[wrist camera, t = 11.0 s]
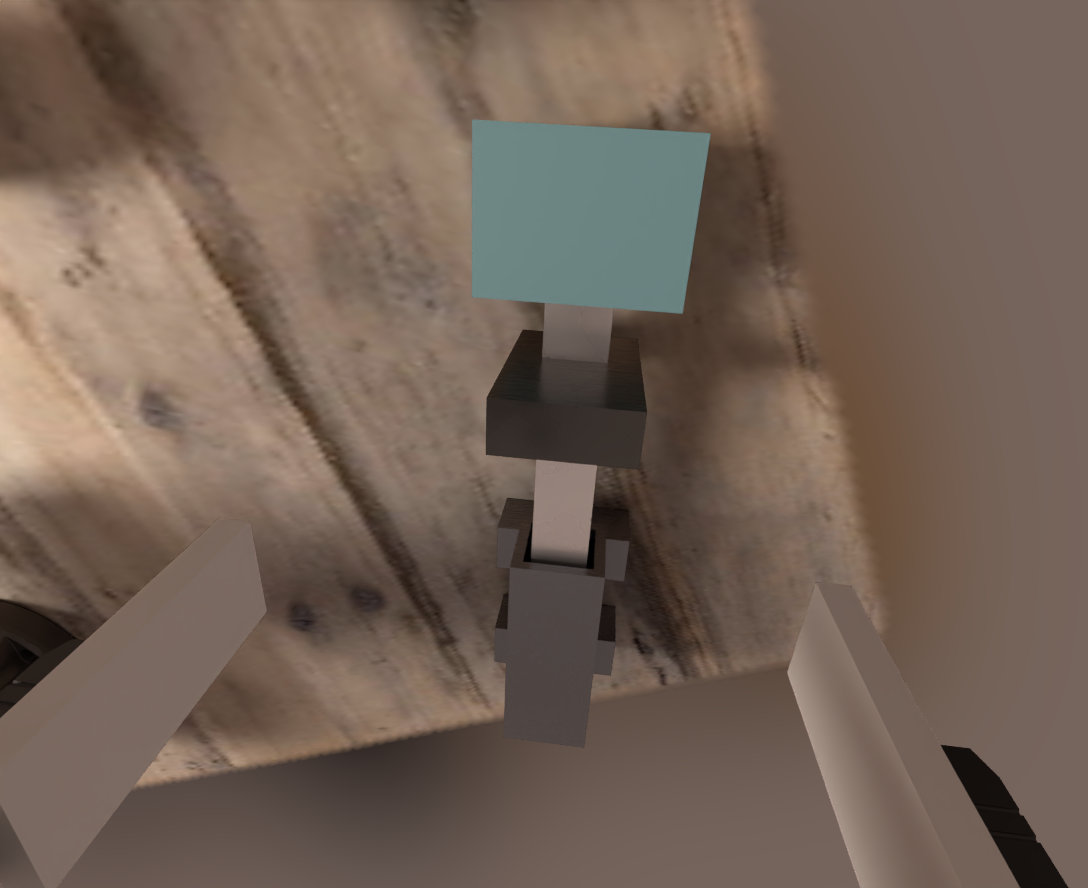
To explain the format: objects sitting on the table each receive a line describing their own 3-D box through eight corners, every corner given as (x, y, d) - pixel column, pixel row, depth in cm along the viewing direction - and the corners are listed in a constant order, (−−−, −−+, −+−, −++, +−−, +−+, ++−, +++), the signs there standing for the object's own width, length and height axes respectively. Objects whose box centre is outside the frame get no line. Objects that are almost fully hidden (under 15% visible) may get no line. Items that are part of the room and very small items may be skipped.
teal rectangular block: (661, 265, 32) (682, 313, 22) (514, 255, 33) (472, 297, 23) (678, 141, 30) (710, 133, 20) (518, 132, 30) (472, 119, 20)
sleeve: (609, 648, 44) (608, 751, 37) (502, 636, 45) (479, 733, 37) (630, 497, 39) (633, 580, 31) (507, 484, 39) (481, 564, 32)
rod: (603, 611, 39) (600, 746, 30) (512, 600, 39) (482, 731, 30) (655, 197, 28) (674, 216, 19) (528, 189, 29) (489, 203, 20)
